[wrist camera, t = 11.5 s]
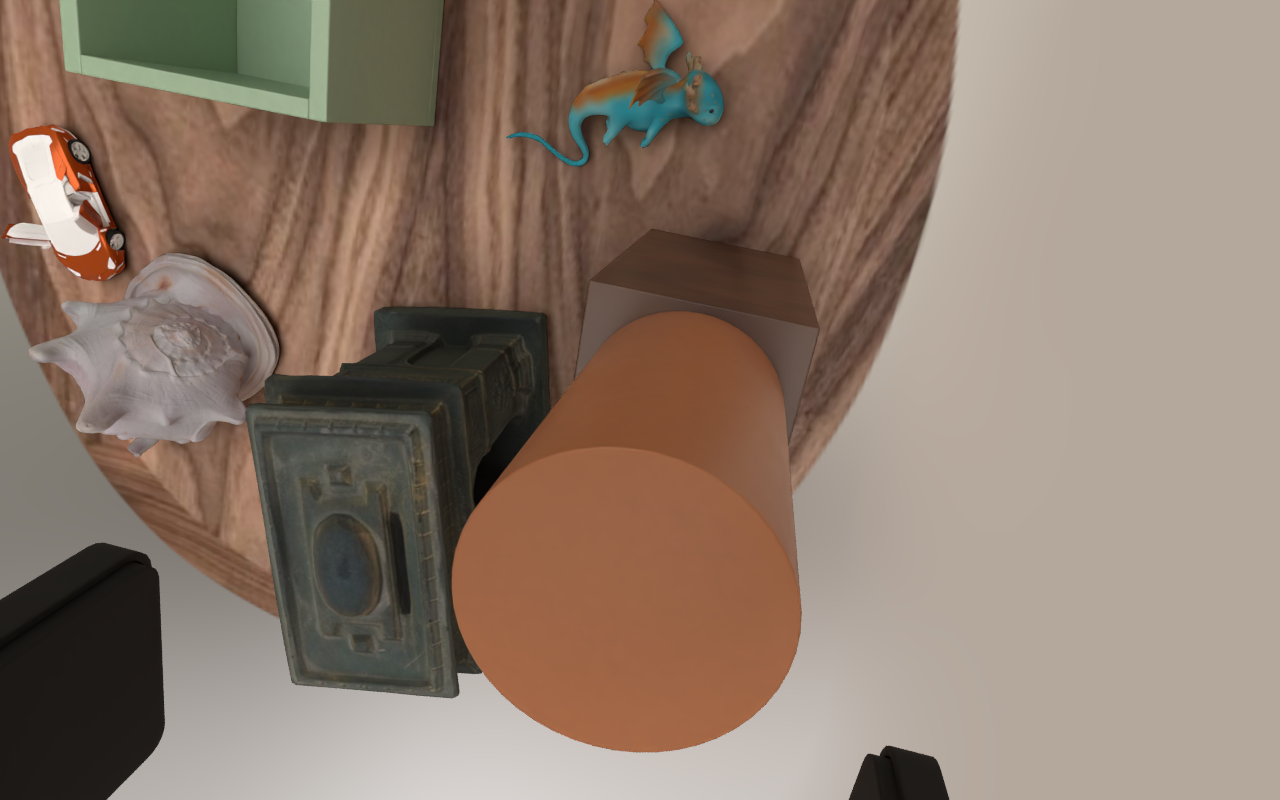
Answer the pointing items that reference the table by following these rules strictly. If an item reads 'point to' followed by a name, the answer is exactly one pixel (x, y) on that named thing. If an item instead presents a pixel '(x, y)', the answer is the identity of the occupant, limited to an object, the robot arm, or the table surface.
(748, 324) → the plinth
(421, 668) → the model
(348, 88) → the chest
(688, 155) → the table surface
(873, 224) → the table surface
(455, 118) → the table surface
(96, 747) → the robot arm
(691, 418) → the tea tin
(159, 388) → the seashell
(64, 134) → the toy car
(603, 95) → the dragon figurine
